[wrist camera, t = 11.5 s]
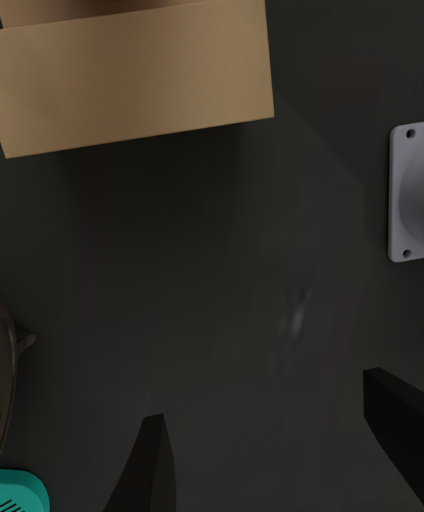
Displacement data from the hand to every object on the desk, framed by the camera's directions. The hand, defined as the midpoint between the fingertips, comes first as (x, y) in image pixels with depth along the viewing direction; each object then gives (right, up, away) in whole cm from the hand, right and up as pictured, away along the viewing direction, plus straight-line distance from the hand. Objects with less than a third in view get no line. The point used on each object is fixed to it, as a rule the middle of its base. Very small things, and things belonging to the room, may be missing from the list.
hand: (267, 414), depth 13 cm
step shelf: (-6, +17, +4) cm, 19 cm away
